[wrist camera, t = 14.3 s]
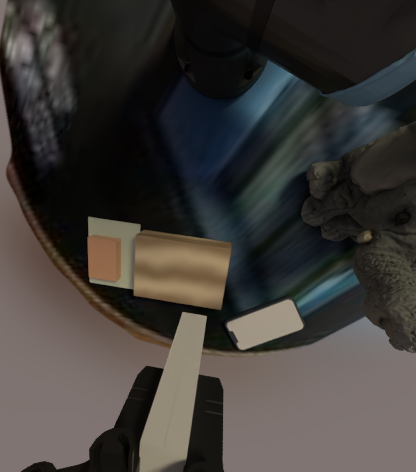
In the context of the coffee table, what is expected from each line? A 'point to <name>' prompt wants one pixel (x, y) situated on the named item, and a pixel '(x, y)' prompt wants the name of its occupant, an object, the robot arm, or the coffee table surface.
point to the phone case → (265, 323)
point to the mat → (127, 247)
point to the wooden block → (181, 268)
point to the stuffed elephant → (375, 225)
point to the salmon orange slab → (104, 257)
